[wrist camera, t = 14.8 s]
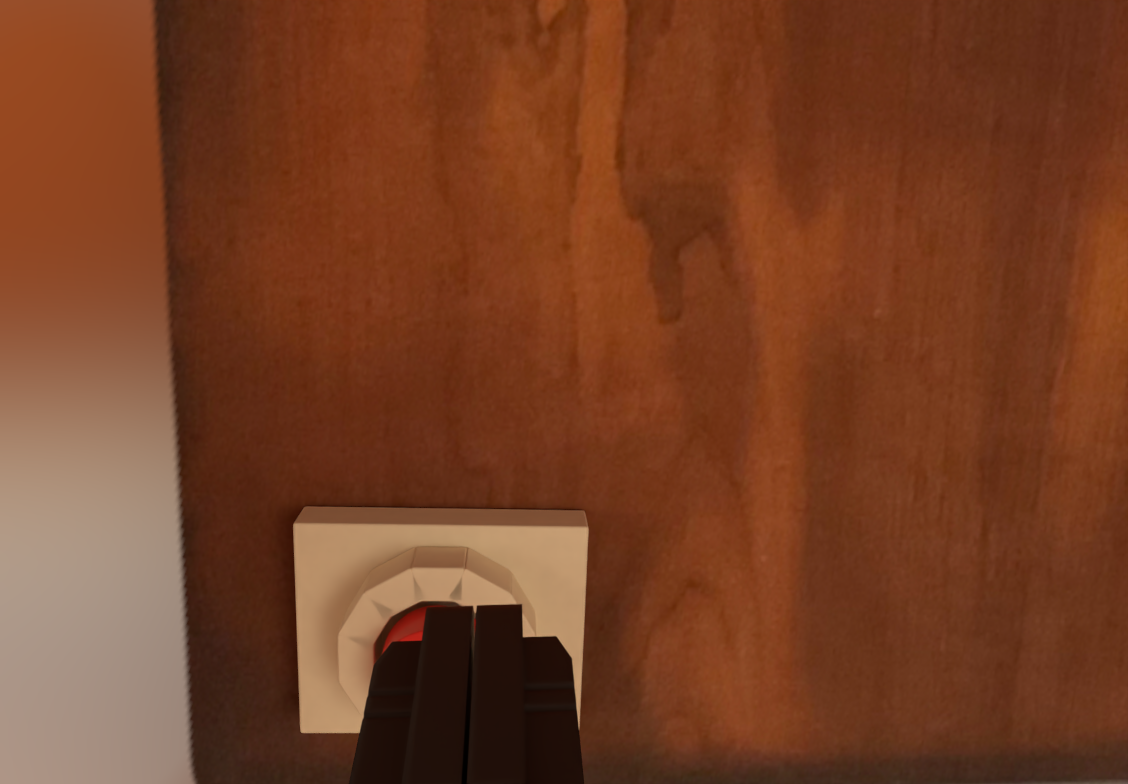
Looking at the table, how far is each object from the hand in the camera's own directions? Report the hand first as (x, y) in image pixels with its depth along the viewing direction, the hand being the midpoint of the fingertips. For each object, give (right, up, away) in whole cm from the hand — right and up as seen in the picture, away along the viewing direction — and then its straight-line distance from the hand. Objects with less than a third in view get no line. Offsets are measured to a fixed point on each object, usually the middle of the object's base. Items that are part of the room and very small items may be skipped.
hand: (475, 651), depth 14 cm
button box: (-3, -4, +19) cm, 19 cm away
